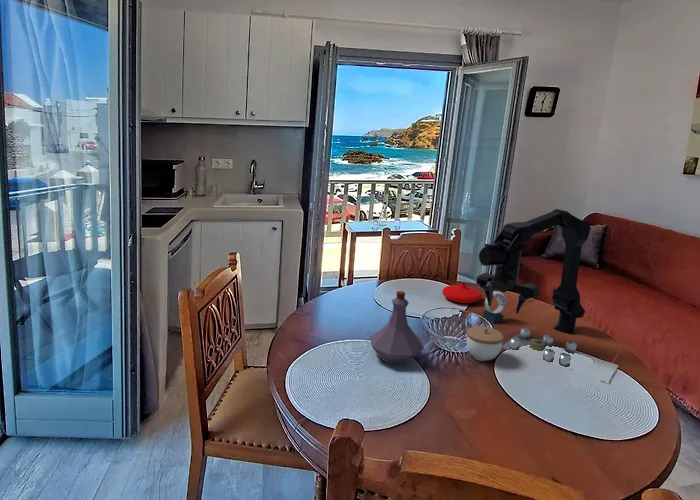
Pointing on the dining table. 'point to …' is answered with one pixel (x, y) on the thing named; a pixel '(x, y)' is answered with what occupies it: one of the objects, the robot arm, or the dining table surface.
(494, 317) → the grey ring on stand
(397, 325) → the flask
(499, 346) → the lidded jar
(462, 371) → the dining table surface
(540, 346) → the nut
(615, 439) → the dining table surface
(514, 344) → the spacers
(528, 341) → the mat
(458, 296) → the red disc with nozzle
